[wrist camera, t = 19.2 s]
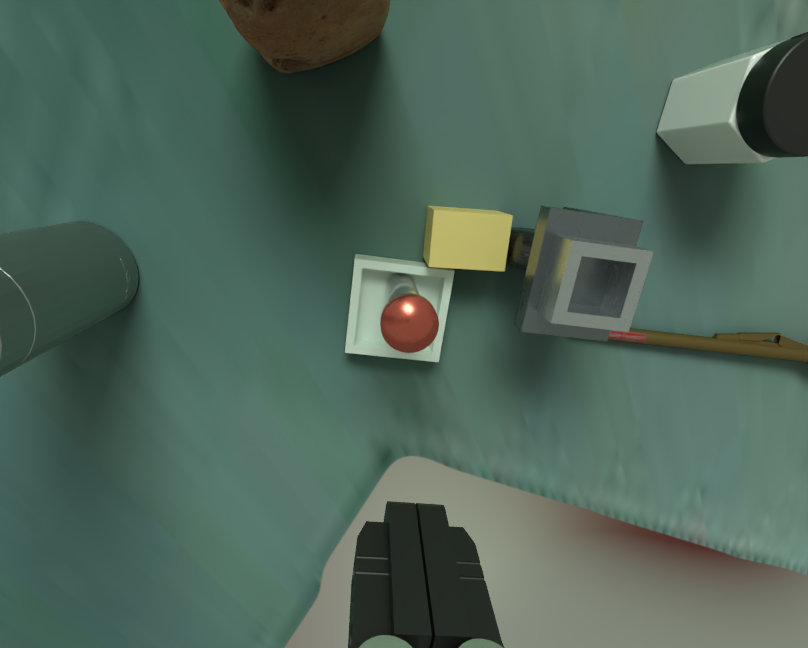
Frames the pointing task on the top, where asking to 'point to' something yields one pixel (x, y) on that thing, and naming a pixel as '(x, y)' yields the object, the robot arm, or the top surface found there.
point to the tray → (372, 300)
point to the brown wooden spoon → (720, 343)
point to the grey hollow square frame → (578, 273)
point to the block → (307, 29)
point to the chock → (466, 238)
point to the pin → (407, 316)
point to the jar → (741, 107)
